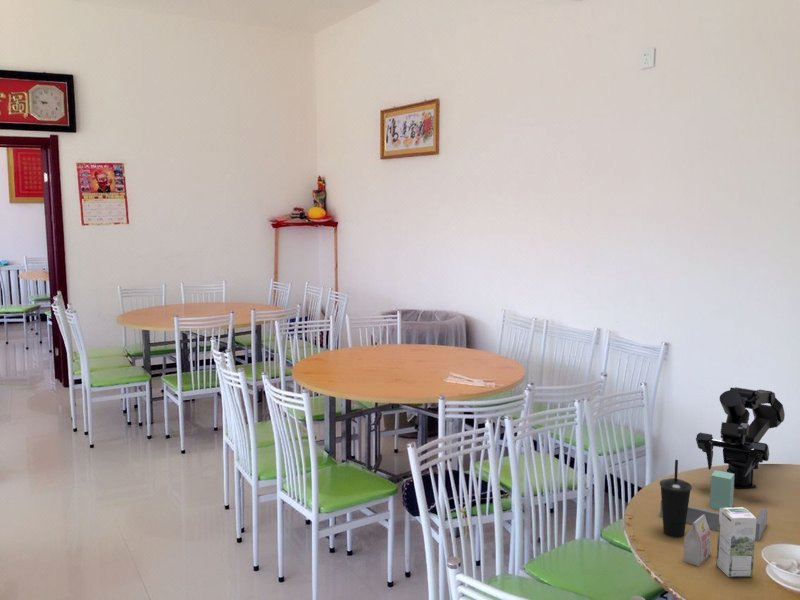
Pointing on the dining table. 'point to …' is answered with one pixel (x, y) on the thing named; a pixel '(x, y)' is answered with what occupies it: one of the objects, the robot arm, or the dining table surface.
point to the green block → (721, 490)
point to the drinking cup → (674, 504)
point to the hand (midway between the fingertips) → (726, 472)
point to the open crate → (713, 519)
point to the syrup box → (736, 542)
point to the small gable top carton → (697, 542)
